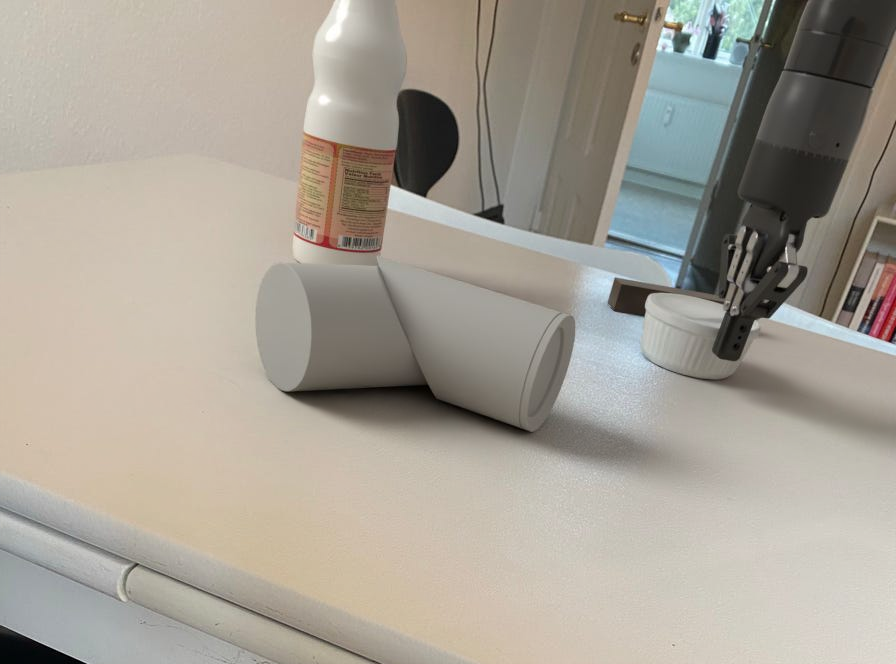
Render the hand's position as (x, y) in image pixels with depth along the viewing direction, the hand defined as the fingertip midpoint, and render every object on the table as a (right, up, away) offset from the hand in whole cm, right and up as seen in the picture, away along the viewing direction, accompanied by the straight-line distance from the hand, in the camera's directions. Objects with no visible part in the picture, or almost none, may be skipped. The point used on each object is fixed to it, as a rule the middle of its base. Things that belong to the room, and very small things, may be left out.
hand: (724, 357), depth 82 cm
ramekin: (-1, +2, +8) cm, 8 cm away
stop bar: (+2, +12, +24) cm, 27 cm away
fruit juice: (-37, +15, +16) cm, 43 cm away
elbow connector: (-28, -8, -14) cm, 32 cm away
